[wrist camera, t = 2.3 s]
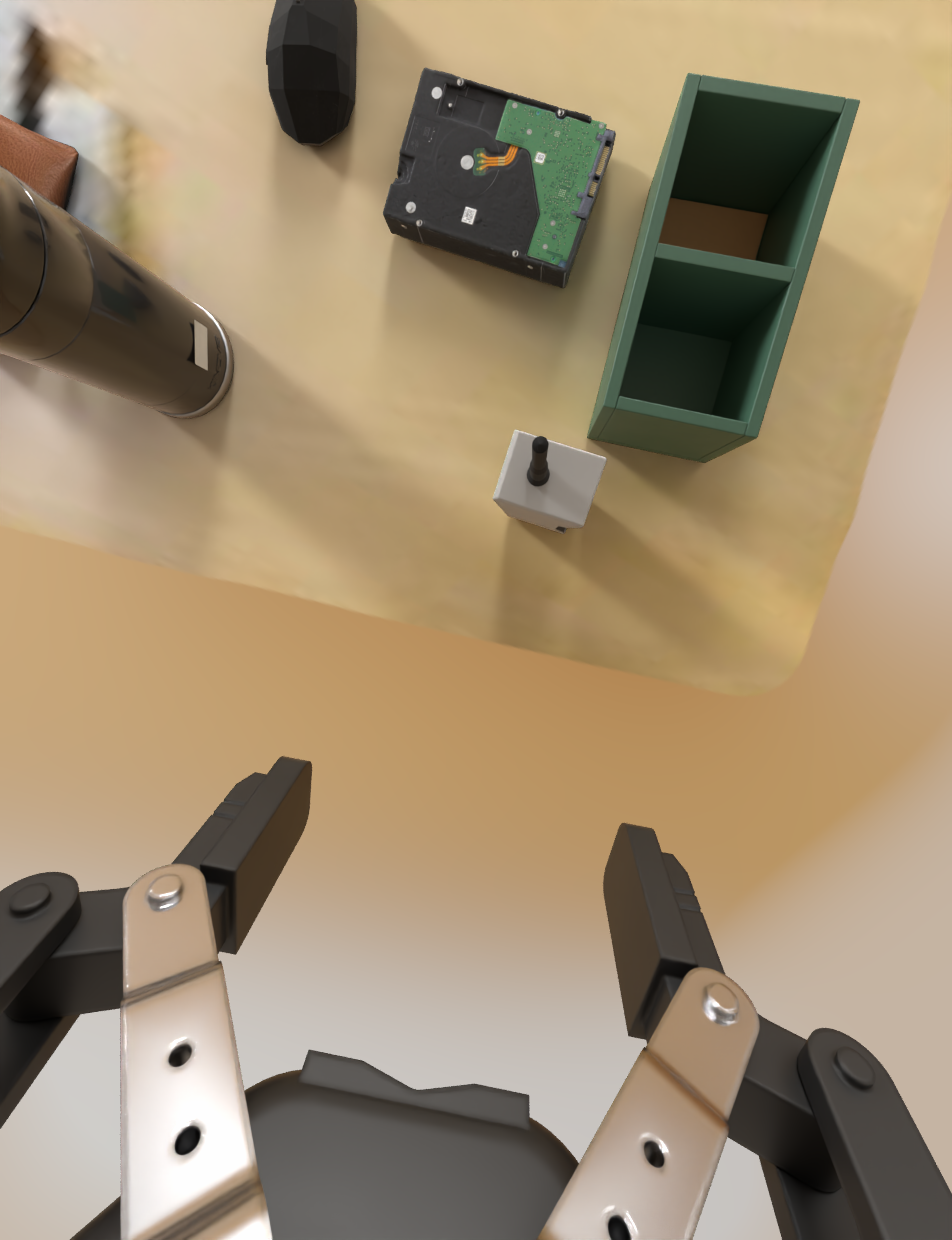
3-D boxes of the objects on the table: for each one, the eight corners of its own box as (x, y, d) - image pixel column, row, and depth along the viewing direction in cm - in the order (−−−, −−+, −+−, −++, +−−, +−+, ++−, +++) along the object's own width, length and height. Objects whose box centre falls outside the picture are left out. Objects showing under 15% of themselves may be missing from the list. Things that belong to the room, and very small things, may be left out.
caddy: (586, 438, 42) (602, 406, 32) (649, 189, 39) (687, 71, 29) (705, 463, 41) (757, 438, 32) (778, 212, 38) (861, 99, 28)
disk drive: (391, 240, 41) (566, 292, 40) (380, 218, 39) (568, 273, 38) (429, 97, 40) (614, 148, 39) (421, 63, 37) (620, 117, 36)
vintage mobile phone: (564, 534, 43) (604, 521, 19) (507, 516, 43) (473, 479, 19) (579, 490, 42) (642, 416, 18) (521, 472, 43) (505, 374, 18)
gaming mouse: (368, -68, 38) (349, -138, 34) (353, 154, 41) (333, 113, 37) (287, -69, 39) (260, -138, 35) (277, 151, 41) (250, 109, 37)
